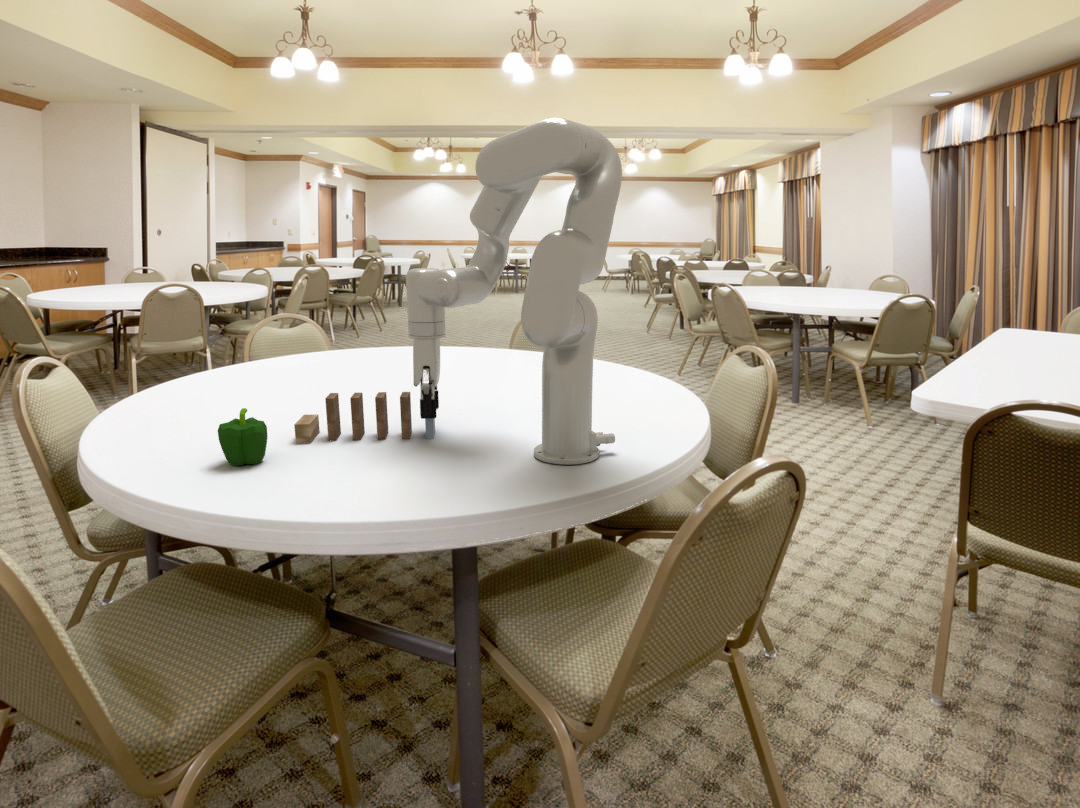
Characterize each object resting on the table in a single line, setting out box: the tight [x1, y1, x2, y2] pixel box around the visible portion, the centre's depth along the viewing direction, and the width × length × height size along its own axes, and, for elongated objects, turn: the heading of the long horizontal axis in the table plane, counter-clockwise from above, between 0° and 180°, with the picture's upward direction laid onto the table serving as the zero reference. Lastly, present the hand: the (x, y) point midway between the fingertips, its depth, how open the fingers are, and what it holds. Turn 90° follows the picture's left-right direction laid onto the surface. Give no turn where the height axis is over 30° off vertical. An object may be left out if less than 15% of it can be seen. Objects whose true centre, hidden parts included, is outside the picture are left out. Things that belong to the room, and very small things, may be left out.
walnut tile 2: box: [374, 391, 389, 441], centre depth 149 cm, size 2×5×9 cm, turn 4°
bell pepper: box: [217, 407, 268, 467], centre depth 131 cm, size 8×8×10 cm
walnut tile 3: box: [350, 392, 366, 441], centre depth 148 cm, size 2×5×9 cm, turn 5°
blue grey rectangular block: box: [424, 391, 436, 440], centre depth 149 cm, size 2×5×9 cm, turn 5°
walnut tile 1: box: [399, 391, 413, 440], centre depth 149 cm, size 2×5×9 cm, turn 4°
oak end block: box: [294, 413, 321, 444], centre depth 148 cm, size 3×8×4 cm, turn 4°
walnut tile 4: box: [324, 392, 342, 442], centre depth 148 cm, size 2×5×9 cm, turn 4°
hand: (429, 412), depth 149 cm, fingers open, 7 cm apart
